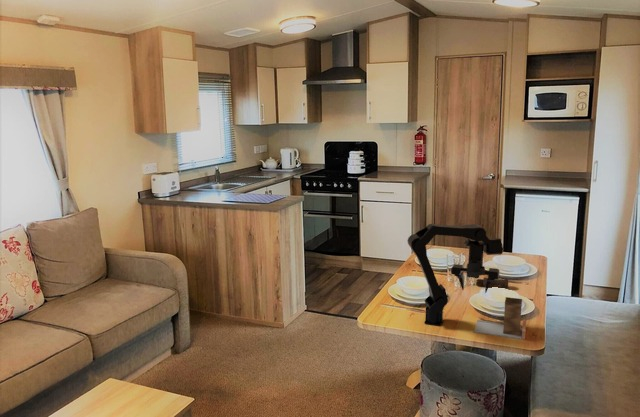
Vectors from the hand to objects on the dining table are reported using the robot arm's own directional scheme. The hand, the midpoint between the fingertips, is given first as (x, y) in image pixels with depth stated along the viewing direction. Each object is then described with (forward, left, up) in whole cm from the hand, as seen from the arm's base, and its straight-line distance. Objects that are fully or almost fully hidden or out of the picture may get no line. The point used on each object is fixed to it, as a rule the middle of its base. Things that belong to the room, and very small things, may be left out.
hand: (474, 291), depth 213 cm
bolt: (+4, +43, -13) cm, 45 cm away
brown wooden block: (+16, -7, -13) cm, 21 cm away
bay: (+11, -7, -13) cm, 18 cm away
